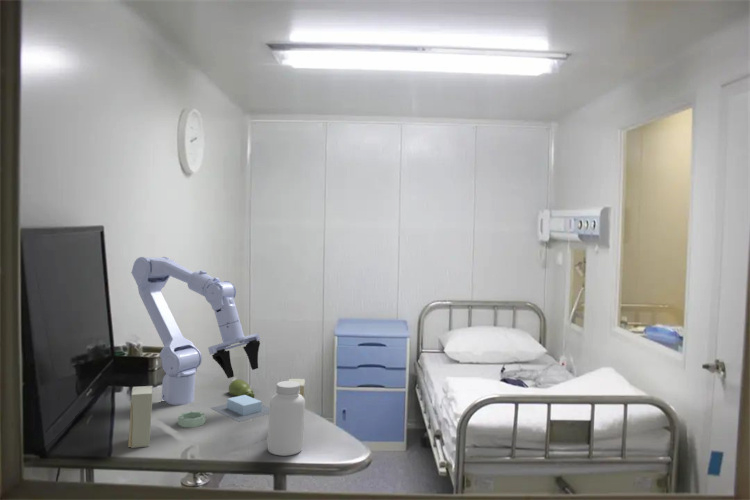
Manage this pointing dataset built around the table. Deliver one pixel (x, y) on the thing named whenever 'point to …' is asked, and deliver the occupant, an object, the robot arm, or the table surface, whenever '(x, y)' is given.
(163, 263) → the robot arm
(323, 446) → the table surface
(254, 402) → the block
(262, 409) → the mat
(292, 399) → the pill bottle
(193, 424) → the bowl
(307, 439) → the table surface
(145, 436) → the skincare box
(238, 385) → the pear
